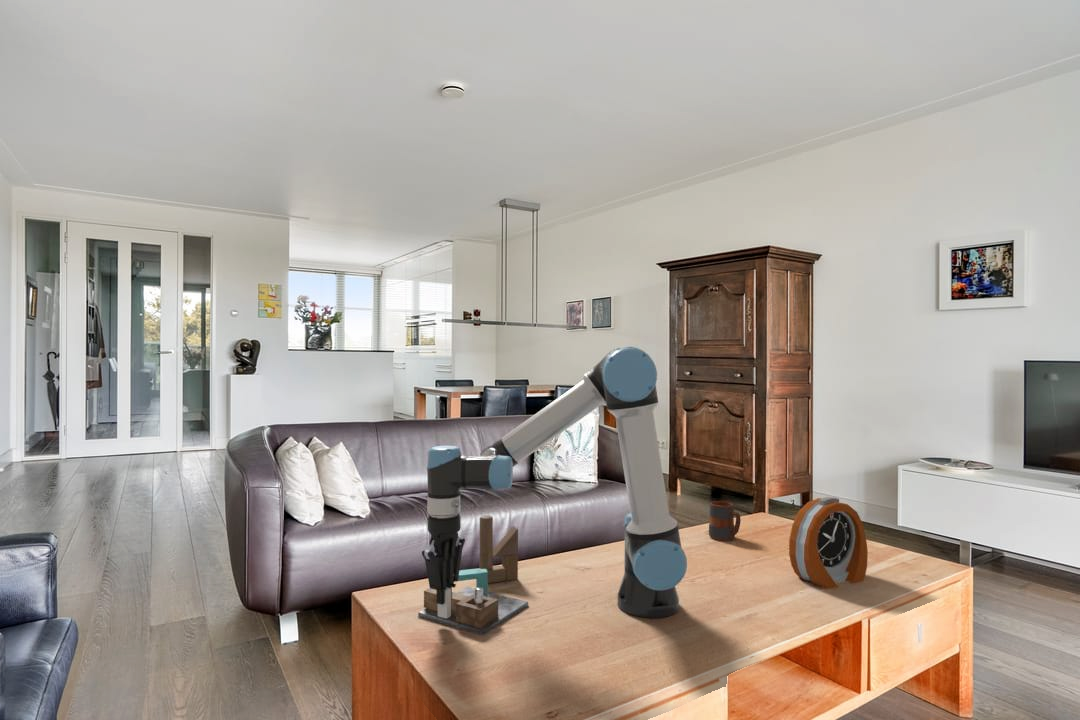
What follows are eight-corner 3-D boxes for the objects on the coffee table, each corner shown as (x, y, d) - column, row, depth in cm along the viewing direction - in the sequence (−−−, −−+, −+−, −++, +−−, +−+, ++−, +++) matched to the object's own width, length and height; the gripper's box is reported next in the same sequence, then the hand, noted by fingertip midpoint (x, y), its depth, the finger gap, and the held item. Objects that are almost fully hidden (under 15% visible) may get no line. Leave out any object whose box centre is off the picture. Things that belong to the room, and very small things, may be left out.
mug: (731, 545, 204) (731, 510, 204) (703, 536, 214) (703, 502, 214) (748, 541, 209) (748, 506, 209) (720, 532, 219) (720, 499, 219)
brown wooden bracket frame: (518, 579, 173) (518, 515, 173) (481, 585, 169) (481, 519, 169) (513, 575, 176) (513, 512, 176) (477, 580, 172) (477, 515, 172)
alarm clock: (816, 591, 165) (816, 506, 165) (787, 579, 174) (788, 498, 174) (874, 579, 174) (874, 498, 174) (844, 568, 183) (844, 491, 183)
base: (528, 605, 155) (528, 573, 155) (482, 635, 139) (482, 599, 139) (467, 590, 165) (467, 560, 165) (418, 616, 149) (418, 583, 148)
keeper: (488, 602, 157) (488, 572, 157) (454, 606, 154) (454, 576, 154) (485, 596, 161) (485, 567, 161) (451, 601, 158) (451, 571, 158)
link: (498, 616, 146) (498, 599, 146) (480, 627, 140) (480, 610, 140) (437, 600, 156) (437, 584, 156) (418, 610, 150) (418, 593, 150)
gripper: (438, 522, 136) (438, 630, 136) (474, 509, 147) (474, 609, 147) (412, 518, 139) (412, 623, 140) (449, 505, 151) (449, 603, 151)
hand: (444, 616), depth 143 cm, fingers closed
